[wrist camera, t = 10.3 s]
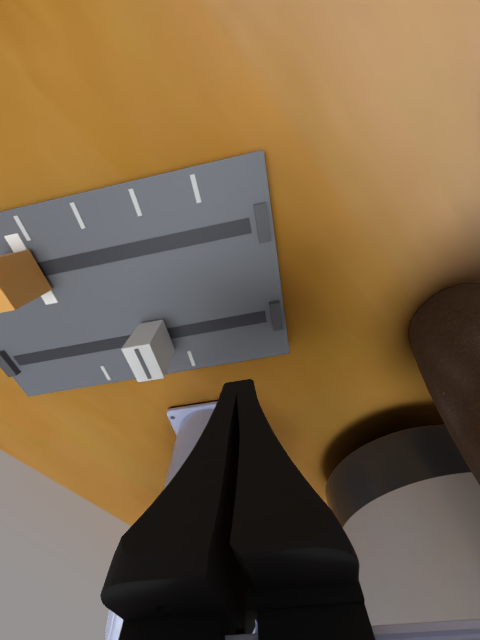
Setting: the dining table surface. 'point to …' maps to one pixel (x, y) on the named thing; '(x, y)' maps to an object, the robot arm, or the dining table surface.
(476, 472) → the plant pot
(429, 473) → the planter
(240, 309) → the console
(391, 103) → the dining table surface
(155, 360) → the grey fader knob
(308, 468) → the dining table surface
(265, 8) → the dining table surface
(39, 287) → the orange fader knob
